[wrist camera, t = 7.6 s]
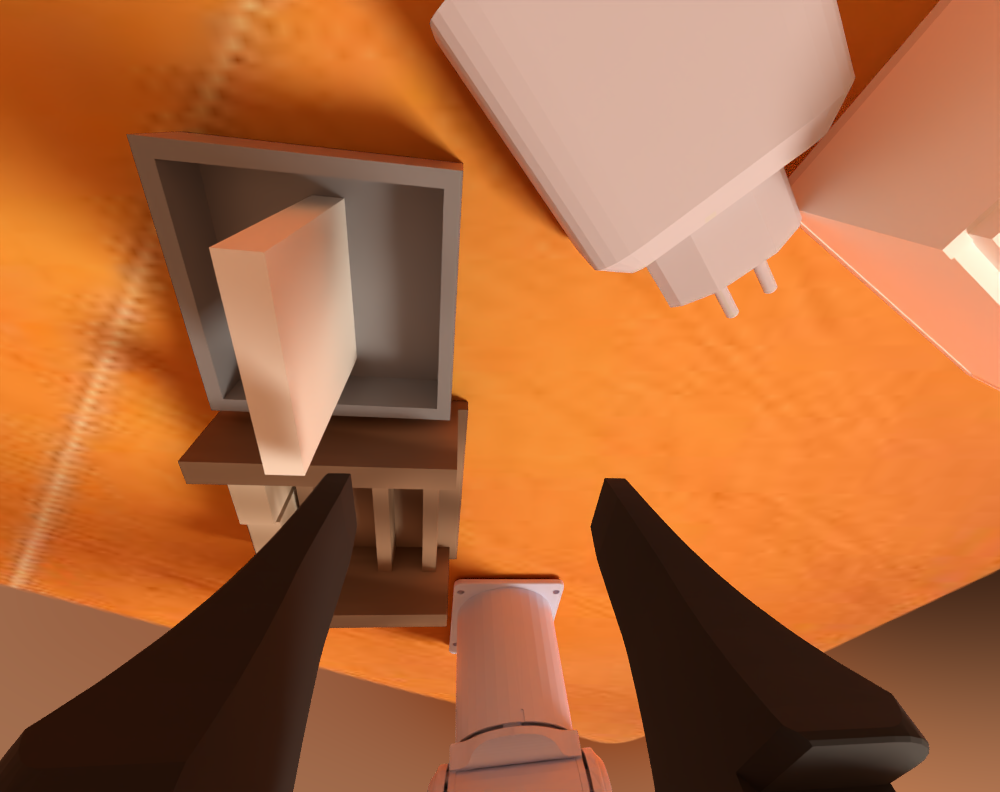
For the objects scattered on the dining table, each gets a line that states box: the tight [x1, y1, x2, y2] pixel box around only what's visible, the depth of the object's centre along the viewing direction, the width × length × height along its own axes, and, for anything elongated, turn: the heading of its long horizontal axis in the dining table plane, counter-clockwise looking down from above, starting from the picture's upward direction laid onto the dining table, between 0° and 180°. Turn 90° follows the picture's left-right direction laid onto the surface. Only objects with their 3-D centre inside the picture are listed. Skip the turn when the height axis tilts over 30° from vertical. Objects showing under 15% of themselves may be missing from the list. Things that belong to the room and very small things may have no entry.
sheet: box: [209, 195, 357, 476], centre depth 15 cm, size 7×1×8 cm, turn 174°
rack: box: [178, 401, 468, 628], centre depth 23 cm, size 12×12×5 cm
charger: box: [429, 0, 855, 318], centre depth 15 cm, size 5×9×15 cm
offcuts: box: [228, 485, 300, 553], centre depth 22 cm, size 9×2×4 cm, turn 174°
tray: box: [127, 132, 463, 420], centre depth 18 cm, size 10×10×3 cm
